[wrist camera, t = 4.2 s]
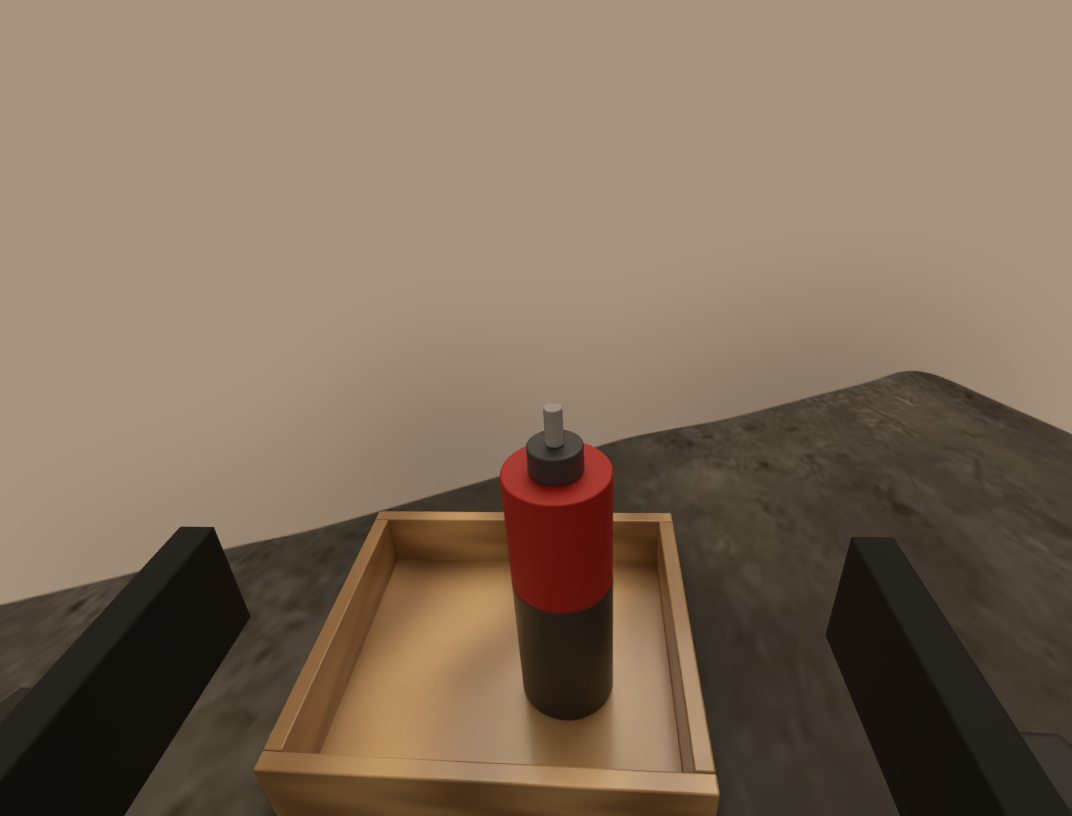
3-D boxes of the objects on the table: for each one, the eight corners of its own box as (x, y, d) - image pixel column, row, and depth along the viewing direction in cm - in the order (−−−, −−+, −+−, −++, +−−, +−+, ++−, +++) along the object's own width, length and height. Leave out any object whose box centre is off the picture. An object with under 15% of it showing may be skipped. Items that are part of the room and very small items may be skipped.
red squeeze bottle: (611, 642, 31) (611, 378, 23) (614, 723, 27) (615, 438, 19) (527, 640, 31) (501, 380, 24) (518, 719, 27) (483, 439, 20)
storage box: (668, 557, 36) (671, 512, 35) (712, 846, 23) (720, 796, 21) (389, 553, 38) (379, 510, 36) (277, 818, 25) (252, 770, 23)
